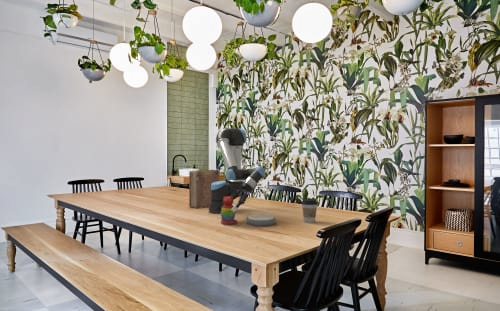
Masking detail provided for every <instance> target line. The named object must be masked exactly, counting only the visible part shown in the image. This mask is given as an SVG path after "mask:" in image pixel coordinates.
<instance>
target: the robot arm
mask: <svg viewBox="0 0 500 311" xmlns="http://www.w3.org/2000/svg"><path fill="white" fill-rule="evenodd" d="M247 138H248V137H247V134H246V131H245V129H243V128H231V127H230V128H229V127H225V128H221V129H220V130H219V131H218V132H217V133H216V136H215V143H216V146H218V148H219V150H220V153H221V156H222V160H223V161H224V164H225V168H226V171H225V179H226V180H227V181H226V180H219V181H218V182H214V183H212V184H211V203H210V206H208V213H210V214H221V211H222V207H223V205H224V203H223V200H224V198H223V197H224V196H225V197H233V201H234V200H236V199H237V198H238V197H239V199H238V200H237V202H236V203H235V204H234V205H233V206H234V207H233V208H232V209H231V210H232V211H233V212H235V213H236V211H237V210H238V209H239V208H240V207H241V205H244V204H245V202H246V200H247V198H248V196H249V195H250V193H251V192H252V191H253V189H254V188H255V187H256V185H257V184H258V183H259V182H260V181H261V180H262V178H263V177H265V174H266V173H267V171H266V170H265V168H264V167H263V166H261V165H257V166H256V167H255V168H247V169H246V168H245V169H244V168H243V169H242V148H243V147H244V144H246V143H247ZM243 181H244V182H243Z"/></svg>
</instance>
